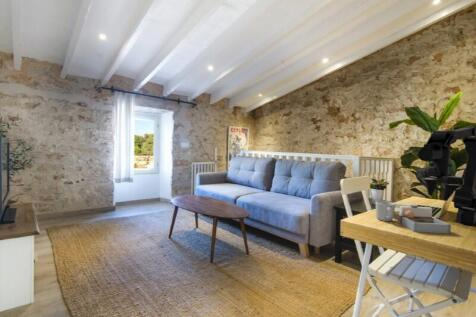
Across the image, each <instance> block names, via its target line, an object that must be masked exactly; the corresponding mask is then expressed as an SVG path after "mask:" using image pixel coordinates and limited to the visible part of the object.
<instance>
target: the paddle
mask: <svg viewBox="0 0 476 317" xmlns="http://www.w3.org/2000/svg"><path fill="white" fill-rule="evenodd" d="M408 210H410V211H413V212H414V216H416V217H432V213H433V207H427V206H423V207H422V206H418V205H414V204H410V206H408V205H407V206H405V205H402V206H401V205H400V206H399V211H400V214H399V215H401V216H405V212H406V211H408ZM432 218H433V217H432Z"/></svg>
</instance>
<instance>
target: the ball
mask: <svg viewBox="0 0 476 317" xmlns="http://www.w3.org/2000/svg"><path fill="white" fill-rule="evenodd" d="M405 216H406V217H407V218H413V217H414V212H413V211H410V210H408V211H406V212H405Z"/></svg>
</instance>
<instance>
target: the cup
mask: <svg viewBox="0 0 476 317" xmlns="http://www.w3.org/2000/svg"><path fill="white" fill-rule="evenodd" d="M396 206H397V205H396V203H395V202H391V201H387V200H376V201H375V217H376V219H377V220H379V221H383V222H391V221H392V220H393V219H394V218H393V215H394V211H395V210H396Z"/></svg>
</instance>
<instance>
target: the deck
mask: <svg viewBox="0 0 476 317" xmlns="http://www.w3.org/2000/svg"><path fill="white" fill-rule="evenodd" d="M399 214H400V210H399V211H395V210H394V215H393V219H394V220H395V221H397V222H399V223H401V224H402V217H406V216H401V215H399ZM406 218H407V217H406ZM408 219H410V220H412V221H414V222H416V223H433V217H416V216H414V217H413V218H408Z"/></svg>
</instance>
